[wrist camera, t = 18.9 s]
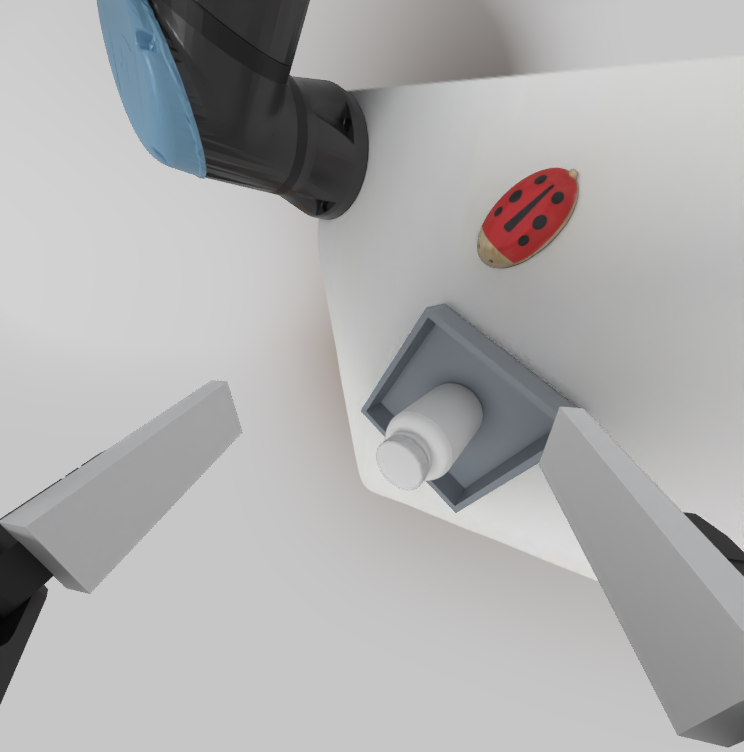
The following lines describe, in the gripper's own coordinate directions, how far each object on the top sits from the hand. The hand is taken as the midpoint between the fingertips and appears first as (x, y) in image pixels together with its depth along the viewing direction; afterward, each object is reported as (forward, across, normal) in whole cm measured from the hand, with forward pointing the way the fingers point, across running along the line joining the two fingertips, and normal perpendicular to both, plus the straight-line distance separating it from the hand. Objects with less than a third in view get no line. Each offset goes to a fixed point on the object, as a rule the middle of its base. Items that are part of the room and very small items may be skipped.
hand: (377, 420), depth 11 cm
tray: (+24, +8, -14) cm, 29 cm away
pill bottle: (+24, +7, -14) cm, 29 cm away
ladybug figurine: (+25, +12, +8) cm, 29 cm away
